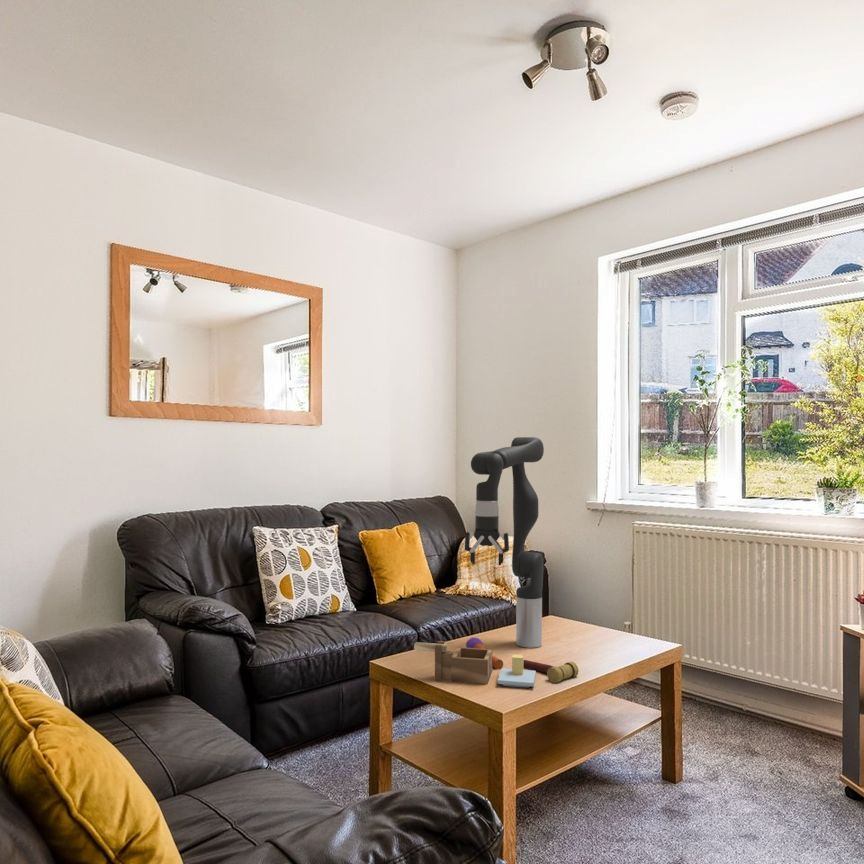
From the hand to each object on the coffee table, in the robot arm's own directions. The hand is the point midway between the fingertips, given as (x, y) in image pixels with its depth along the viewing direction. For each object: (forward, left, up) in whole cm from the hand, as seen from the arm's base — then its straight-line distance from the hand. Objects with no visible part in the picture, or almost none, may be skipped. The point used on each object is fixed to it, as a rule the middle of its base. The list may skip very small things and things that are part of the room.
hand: (486, 564), depth 218 cm
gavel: (0, +18, -34) cm, 38 cm away
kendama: (-8, -2, -33) cm, 34 cm away
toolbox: (+10, -6, -33) cm, 35 cm away
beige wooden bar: (+14, -15, -25) cm, 32 cm away
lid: (+12, +11, -33) cm, 37 cm away
